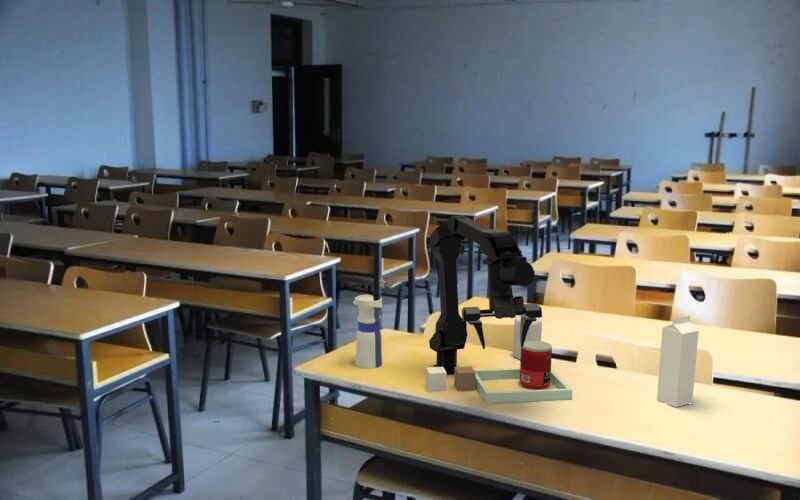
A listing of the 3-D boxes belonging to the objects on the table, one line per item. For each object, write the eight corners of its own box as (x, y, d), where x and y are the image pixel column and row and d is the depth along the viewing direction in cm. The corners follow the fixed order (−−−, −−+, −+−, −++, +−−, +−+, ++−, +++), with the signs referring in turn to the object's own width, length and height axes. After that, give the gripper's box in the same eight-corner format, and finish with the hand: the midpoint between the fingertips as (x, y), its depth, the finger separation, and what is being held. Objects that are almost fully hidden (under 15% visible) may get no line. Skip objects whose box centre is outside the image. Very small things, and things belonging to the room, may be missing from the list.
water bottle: (365, 356, 212) (365, 273, 207) (389, 362, 207) (389, 277, 202) (347, 364, 205) (347, 278, 201) (371, 370, 200) (371, 282, 196)
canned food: (550, 391, 187) (552, 350, 185) (518, 388, 188) (520, 348, 186) (550, 380, 194) (552, 341, 192) (520, 378, 195) (521, 339, 193)
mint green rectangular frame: (470, 378, 195) (470, 370, 194) (548, 375, 198) (549, 366, 197) (486, 403, 178) (486, 393, 178) (571, 399, 181) (572, 389, 181)
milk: (692, 403, 179) (700, 318, 175) (675, 408, 176) (683, 321, 172) (672, 395, 184) (680, 312, 180) (655, 399, 181) (663, 315, 177)
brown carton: (454, 385, 190) (454, 367, 189) (470, 384, 191) (471, 366, 190) (457, 391, 186) (458, 373, 185) (475, 390, 186) (475, 372, 186)
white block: (425, 385, 190) (426, 367, 189) (442, 384, 190) (443, 366, 189) (428, 392, 185) (429, 373, 184) (446, 391, 186) (446, 372, 185)
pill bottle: (542, 361, 209) (545, 311, 207) (514, 361, 209) (516, 310, 207) (537, 352, 217) (540, 304, 214) (511, 352, 217) (512, 303, 214)
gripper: (464, 289, 166) (467, 356, 167) (545, 285, 166) (548, 352, 167) (460, 284, 177) (463, 347, 178) (536, 280, 177) (538, 343, 178)
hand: (502, 347), depth 175 cm, fingers open, 9 cm apart
